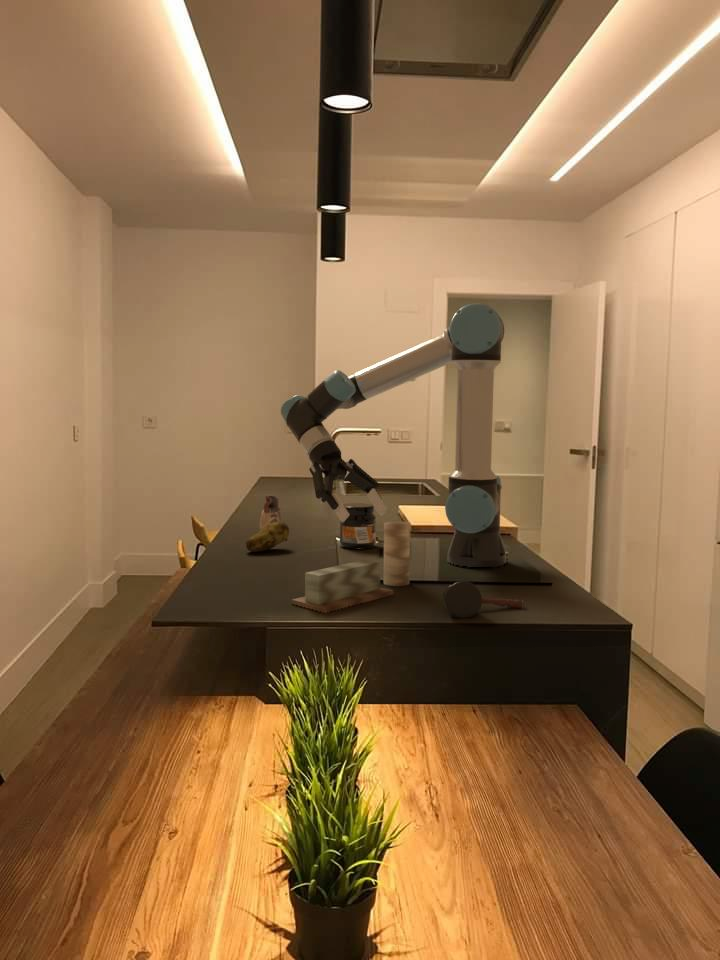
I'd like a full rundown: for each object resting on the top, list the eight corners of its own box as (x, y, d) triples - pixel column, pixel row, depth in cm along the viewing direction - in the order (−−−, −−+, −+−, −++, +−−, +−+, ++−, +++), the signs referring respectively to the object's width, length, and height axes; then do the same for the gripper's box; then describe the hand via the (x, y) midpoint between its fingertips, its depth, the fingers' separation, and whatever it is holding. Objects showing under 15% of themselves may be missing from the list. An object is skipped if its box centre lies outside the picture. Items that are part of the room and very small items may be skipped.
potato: (240, 549, 234) (240, 521, 233) (285, 546, 239) (284, 518, 238) (248, 555, 227) (248, 525, 226) (294, 551, 232) (293, 523, 231)
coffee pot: (442, 617, 164) (435, 612, 173) (531, 627, 166) (519, 622, 174) (447, 579, 165) (439, 576, 173) (536, 589, 166) (523, 586, 175)
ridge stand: (359, 587, 191) (359, 556, 190) (393, 594, 184) (393, 563, 183) (291, 604, 175) (291, 571, 174) (325, 613, 168) (325, 578, 168)
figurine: (287, 531, 264) (286, 494, 262) (272, 535, 258) (272, 496, 256) (269, 529, 267) (268, 492, 266) (254, 533, 261) (254, 494, 260)
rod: (403, 579, 198) (404, 521, 197) (413, 585, 193) (413, 525, 191) (379, 581, 197) (380, 522, 195) (388, 586, 191) (389, 526, 189)
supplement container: (364, 551, 233) (364, 508, 231) (332, 547, 238) (332, 505, 237) (382, 545, 242) (382, 504, 240) (351, 542, 247) (351, 501, 246)
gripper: (347, 456, 219) (391, 519, 210) (276, 461, 201) (320, 531, 192) (363, 436, 215) (407, 500, 206) (291, 440, 196) (336, 510, 188)
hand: (365, 515), depth 199 cm, fingers open, 13 cm apart
